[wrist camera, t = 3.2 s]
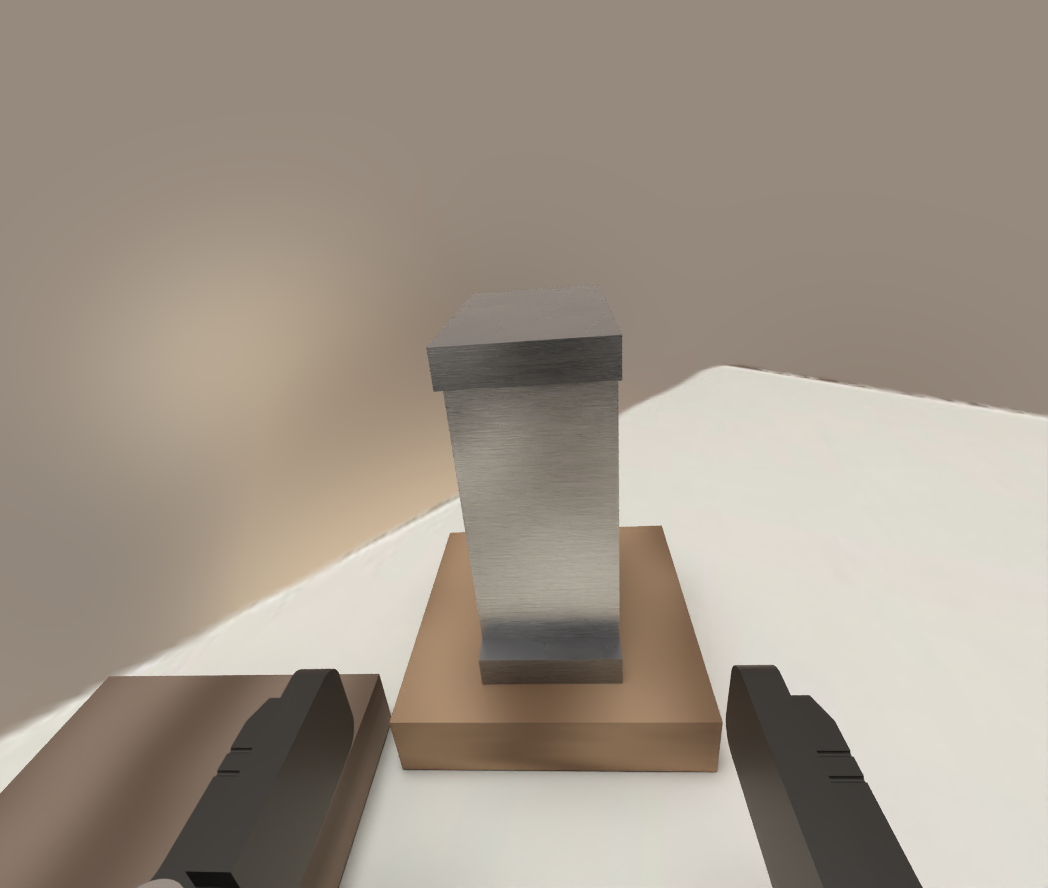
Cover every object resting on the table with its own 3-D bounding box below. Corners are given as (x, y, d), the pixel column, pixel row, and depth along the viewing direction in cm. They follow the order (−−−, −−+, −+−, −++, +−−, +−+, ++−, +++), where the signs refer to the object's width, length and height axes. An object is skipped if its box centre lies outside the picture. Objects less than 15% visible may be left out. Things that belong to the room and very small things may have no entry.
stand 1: (391, 719, 21) (379, 673, 20) (238, 1202, 11) (195, 1165, 10) (134, 719, 22) (109, 676, 21) (-224, 1162, 12) (-309, 1125, 11)
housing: (604, 545, 26) (599, 284, 20) (622, 683, 18) (621, 334, 13) (503, 548, 26) (472, 294, 21) (482, 684, 19) (426, 347, 13)
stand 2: (660, 564, 28) (661, 525, 27) (716, 771, 18) (722, 722, 17) (456, 570, 29) (450, 532, 28) (402, 769, 19) (389, 722, 18)
